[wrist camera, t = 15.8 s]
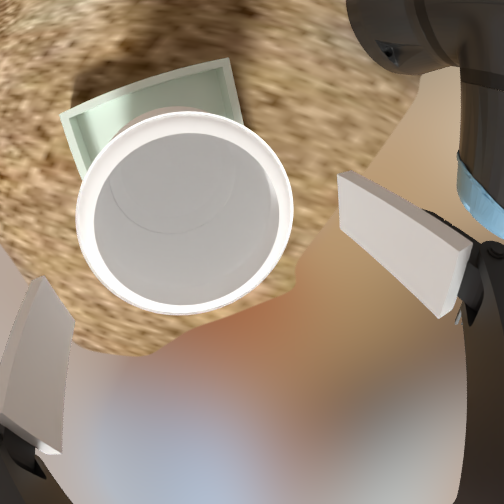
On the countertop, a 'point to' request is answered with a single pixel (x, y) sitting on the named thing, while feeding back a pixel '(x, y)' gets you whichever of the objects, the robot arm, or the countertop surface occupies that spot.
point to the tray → (149, 105)
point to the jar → (183, 211)
